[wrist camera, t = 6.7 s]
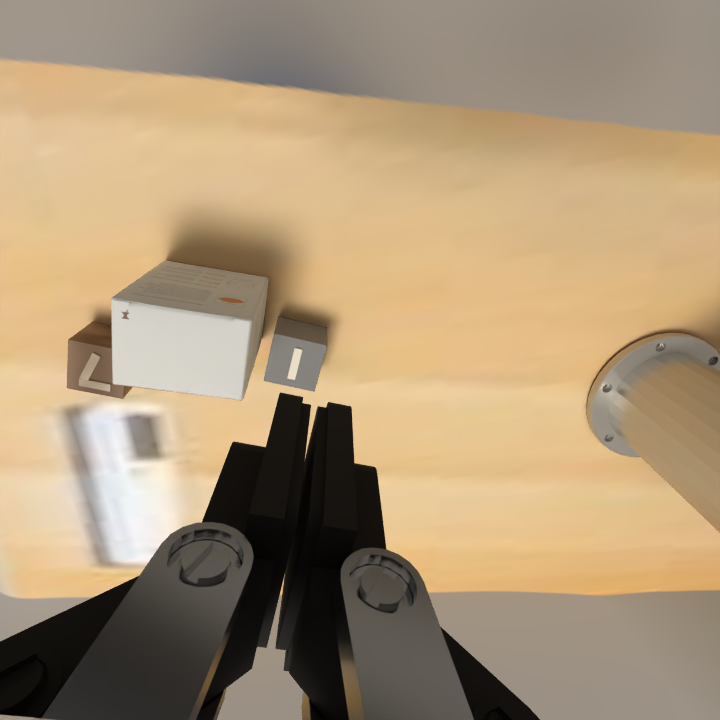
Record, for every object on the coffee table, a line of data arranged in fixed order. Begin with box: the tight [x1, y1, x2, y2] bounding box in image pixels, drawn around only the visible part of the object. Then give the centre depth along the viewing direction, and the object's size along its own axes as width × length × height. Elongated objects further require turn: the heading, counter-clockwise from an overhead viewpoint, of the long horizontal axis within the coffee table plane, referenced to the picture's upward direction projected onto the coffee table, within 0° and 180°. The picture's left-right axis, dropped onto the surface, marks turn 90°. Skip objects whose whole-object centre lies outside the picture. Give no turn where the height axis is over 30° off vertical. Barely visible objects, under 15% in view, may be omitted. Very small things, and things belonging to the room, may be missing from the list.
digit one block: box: [264, 317, 327, 391], centre depth 37 cm, size 4×4×4 cm
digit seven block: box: [67, 322, 132, 399], centre depth 36 cm, size 4×4×4 cm
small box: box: [111, 260, 269, 401], centre depth 32 cm, size 8×6×10 cm
